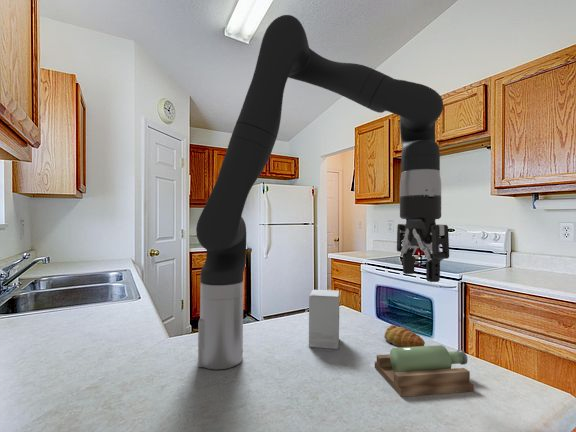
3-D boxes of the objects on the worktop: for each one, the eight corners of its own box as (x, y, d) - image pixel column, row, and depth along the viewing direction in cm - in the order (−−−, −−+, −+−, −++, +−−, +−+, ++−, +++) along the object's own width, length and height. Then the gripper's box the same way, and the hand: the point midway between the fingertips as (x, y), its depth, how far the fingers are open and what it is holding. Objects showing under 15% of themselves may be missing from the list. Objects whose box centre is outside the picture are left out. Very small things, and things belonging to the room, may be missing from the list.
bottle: (401, 380, 57) (402, 355, 57) (389, 367, 62) (390, 343, 62) (471, 375, 59) (471, 350, 59) (454, 363, 64) (454, 340, 64)
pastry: (430, 347, 76) (430, 331, 76) (415, 354, 72) (415, 337, 72) (396, 336, 84) (396, 321, 84) (381, 342, 79) (381, 327, 79)
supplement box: (338, 349, 74) (338, 296, 74) (307, 347, 75) (308, 295, 76) (339, 338, 81) (339, 290, 81) (311, 336, 82) (311, 288, 83)
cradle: (400, 396, 54) (400, 379, 54) (374, 367, 65) (374, 353, 65) (473, 391, 56) (473, 374, 56) (436, 363, 67) (436, 349, 67)
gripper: (385, 197, 68) (385, 271, 67) (422, 190, 53) (422, 285, 53) (417, 198, 69) (417, 271, 68) (462, 191, 54) (462, 284, 54)
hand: (419, 277), depth 61 cm, fingers open, 8 cm apart
